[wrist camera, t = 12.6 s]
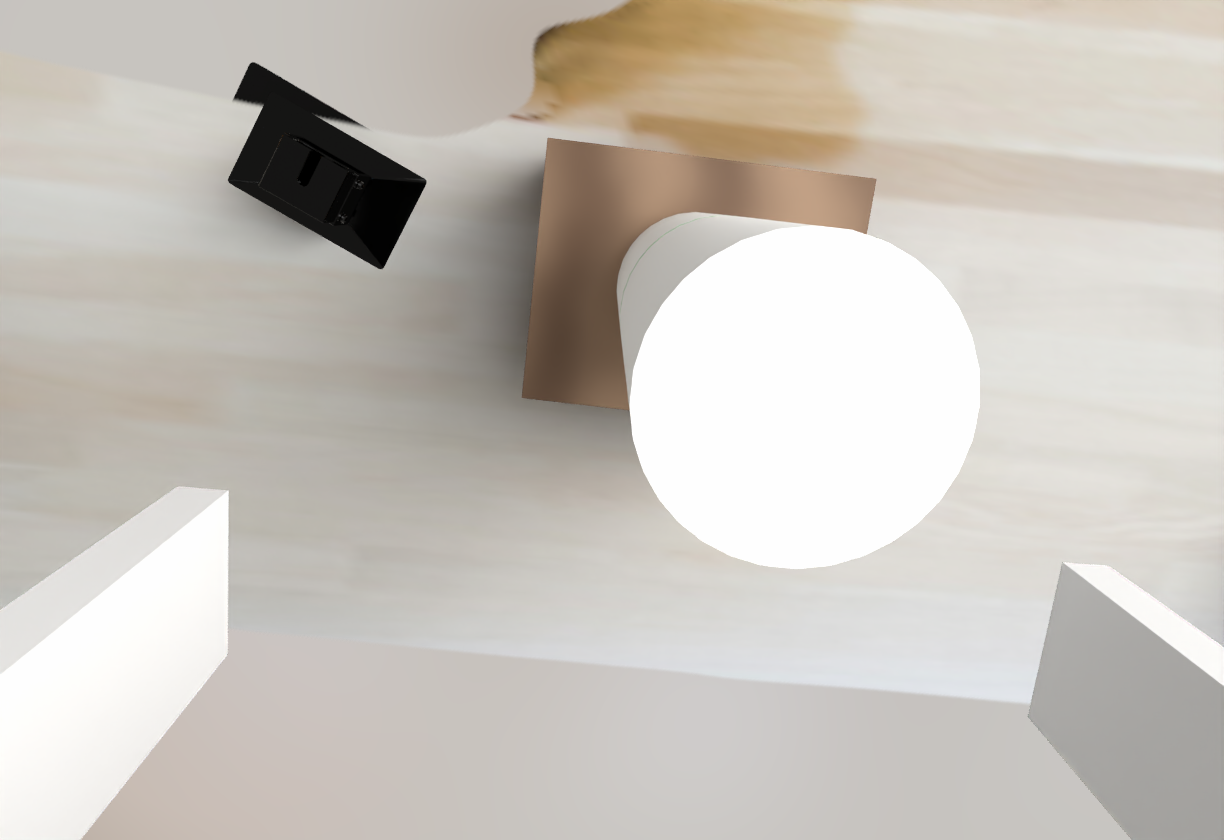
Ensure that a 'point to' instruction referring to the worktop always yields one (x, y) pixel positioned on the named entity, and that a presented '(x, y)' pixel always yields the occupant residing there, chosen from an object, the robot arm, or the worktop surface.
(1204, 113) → the worktop surface
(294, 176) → the black box
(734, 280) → the cylindrical container
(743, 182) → the brown flat-topped stand
